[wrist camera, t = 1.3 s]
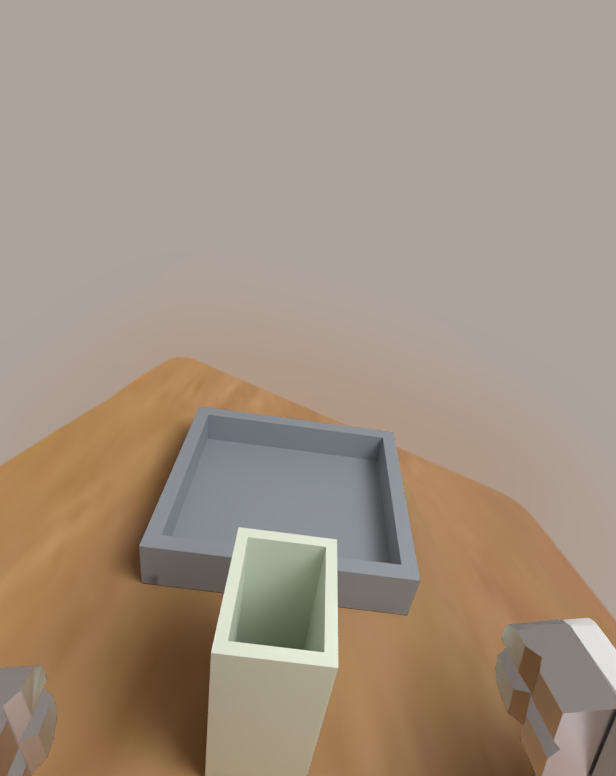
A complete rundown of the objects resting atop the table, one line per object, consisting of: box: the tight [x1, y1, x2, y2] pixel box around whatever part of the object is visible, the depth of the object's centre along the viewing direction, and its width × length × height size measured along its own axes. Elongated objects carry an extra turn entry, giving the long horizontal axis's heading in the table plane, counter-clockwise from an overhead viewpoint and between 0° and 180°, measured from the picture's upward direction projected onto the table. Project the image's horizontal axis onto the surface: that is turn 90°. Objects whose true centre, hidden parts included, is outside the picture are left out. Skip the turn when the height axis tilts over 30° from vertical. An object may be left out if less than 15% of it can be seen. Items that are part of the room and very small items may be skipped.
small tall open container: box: [205, 527, 338, 776], centre depth 27 cm, size 5×7×12 cm
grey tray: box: [139, 407, 420, 615], centre depth 43 cm, size 20×18×4 cm
